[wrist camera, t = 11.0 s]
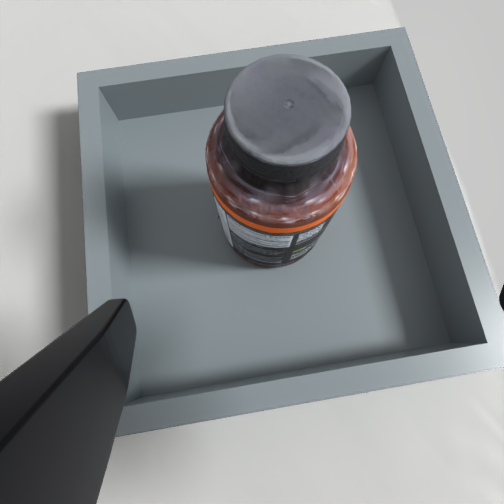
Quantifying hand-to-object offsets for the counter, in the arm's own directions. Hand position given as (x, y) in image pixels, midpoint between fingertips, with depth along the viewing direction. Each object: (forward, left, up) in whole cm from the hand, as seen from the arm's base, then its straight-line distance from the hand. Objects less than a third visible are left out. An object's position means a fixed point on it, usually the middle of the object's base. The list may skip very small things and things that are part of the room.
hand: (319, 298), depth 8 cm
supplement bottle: (+6, 0, -12) cm, 14 cm away
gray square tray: (+6, 0, -13) cm, 14 cm away
